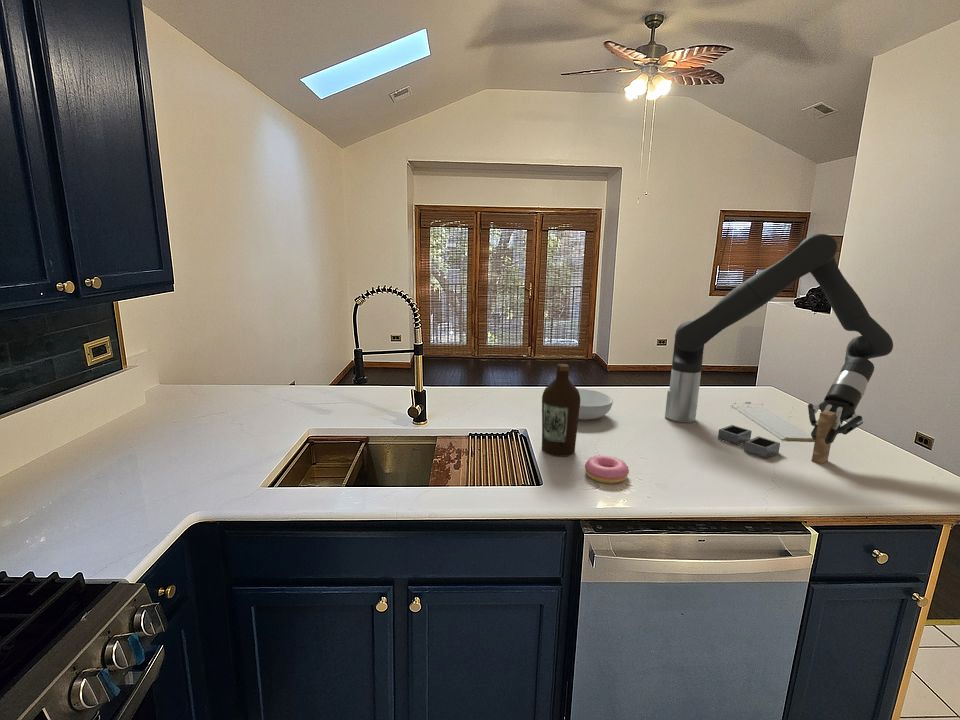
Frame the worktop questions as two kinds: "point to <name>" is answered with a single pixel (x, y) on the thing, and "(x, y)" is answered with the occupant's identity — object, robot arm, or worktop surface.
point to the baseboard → (774, 423)
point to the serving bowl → (593, 404)
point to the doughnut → (606, 469)
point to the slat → (823, 437)
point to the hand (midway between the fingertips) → (820, 440)
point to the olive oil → (560, 414)
